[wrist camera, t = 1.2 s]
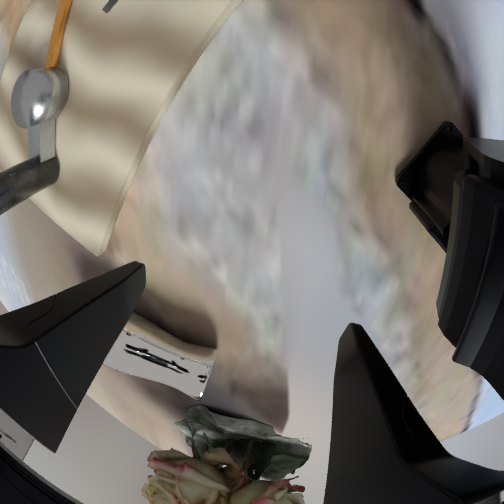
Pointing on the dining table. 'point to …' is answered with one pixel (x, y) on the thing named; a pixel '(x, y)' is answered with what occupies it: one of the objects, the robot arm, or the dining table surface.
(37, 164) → the cam lever
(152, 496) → the rose bouquet
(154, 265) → the dining table surface
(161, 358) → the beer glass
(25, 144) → the dial board
